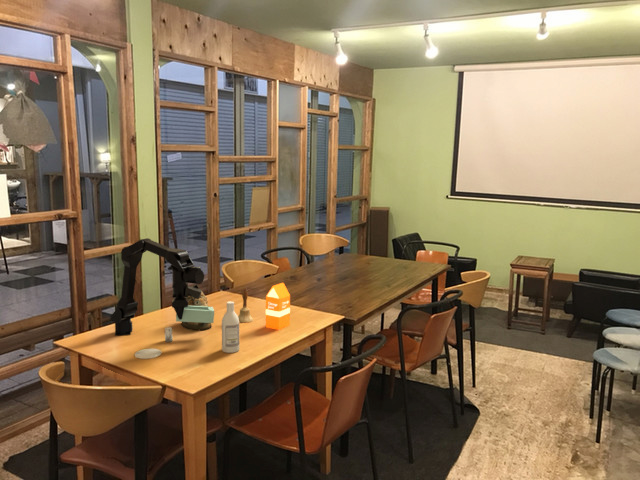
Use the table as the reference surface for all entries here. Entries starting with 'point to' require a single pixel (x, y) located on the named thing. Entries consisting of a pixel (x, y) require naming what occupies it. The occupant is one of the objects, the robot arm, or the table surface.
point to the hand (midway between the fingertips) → (180, 318)
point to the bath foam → (230, 330)
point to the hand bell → (245, 309)
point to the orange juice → (278, 307)
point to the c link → (197, 314)
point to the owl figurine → (197, 325)
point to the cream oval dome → (147, 353)
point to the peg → (168, 334)
